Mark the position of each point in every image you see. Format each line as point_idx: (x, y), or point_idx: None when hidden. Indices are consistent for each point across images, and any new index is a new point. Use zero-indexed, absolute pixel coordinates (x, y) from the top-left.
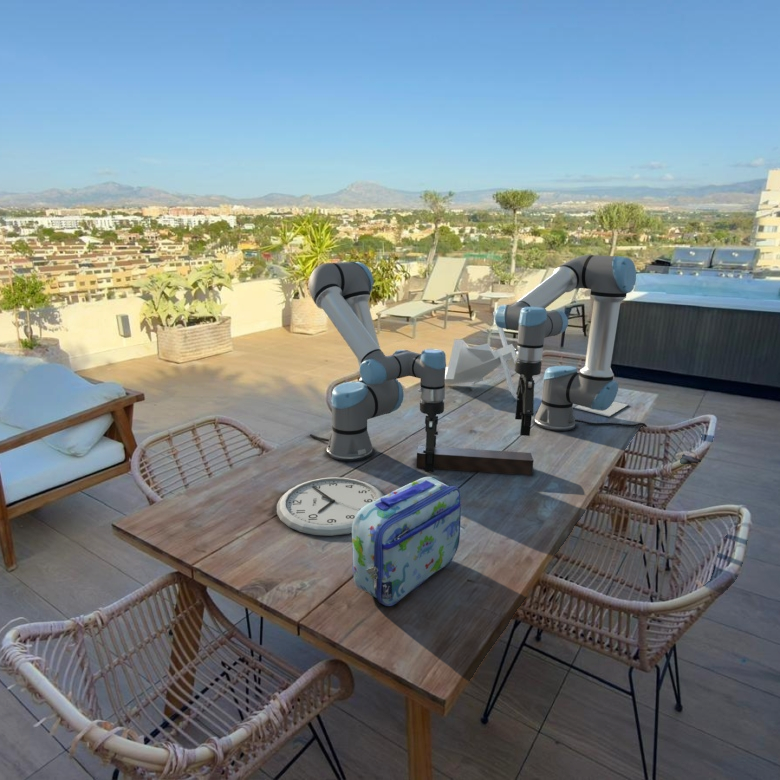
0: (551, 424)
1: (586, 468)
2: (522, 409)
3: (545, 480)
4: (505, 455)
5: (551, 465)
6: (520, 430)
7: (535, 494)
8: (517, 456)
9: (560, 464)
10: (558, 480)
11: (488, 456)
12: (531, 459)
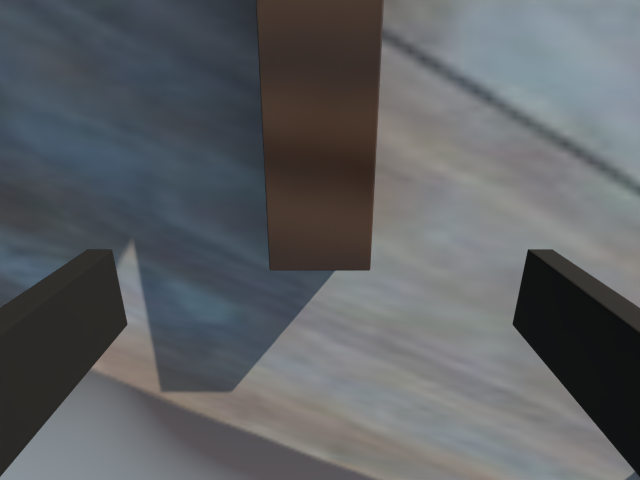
0: None
1: (374, 432)
2: (584, 377)
3: (243, 286)
4: (311, 126)
5: (388, 328)
6: (85, 267)
7: (105, 231)
8: (308, 195)
9: (401, 360)
10: (254, 331)
11: (277, 7)
12: (283, 262)
